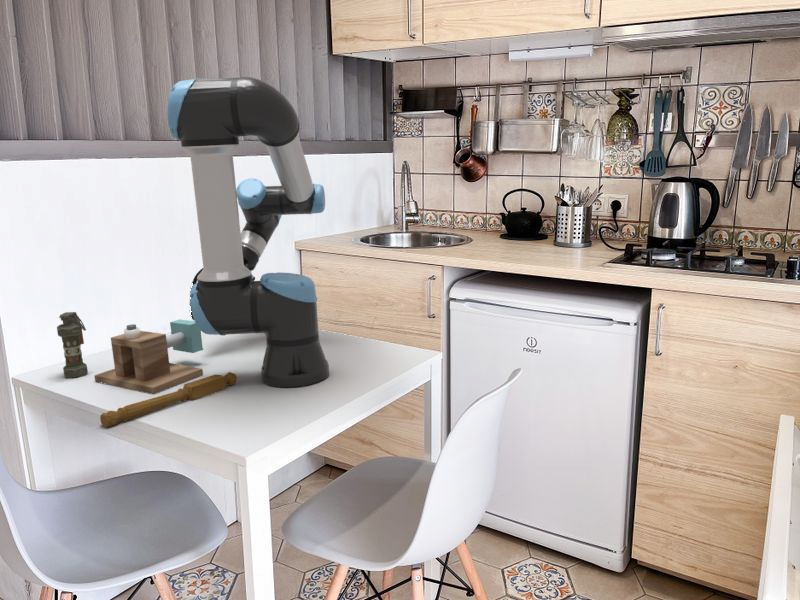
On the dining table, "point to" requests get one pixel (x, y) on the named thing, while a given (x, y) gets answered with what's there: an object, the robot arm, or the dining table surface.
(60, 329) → the grenade
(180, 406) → the dining table surface
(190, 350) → the teal piece
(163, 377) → the mount
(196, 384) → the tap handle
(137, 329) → the dial
